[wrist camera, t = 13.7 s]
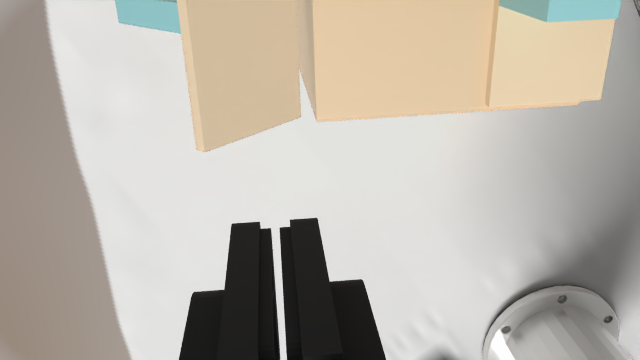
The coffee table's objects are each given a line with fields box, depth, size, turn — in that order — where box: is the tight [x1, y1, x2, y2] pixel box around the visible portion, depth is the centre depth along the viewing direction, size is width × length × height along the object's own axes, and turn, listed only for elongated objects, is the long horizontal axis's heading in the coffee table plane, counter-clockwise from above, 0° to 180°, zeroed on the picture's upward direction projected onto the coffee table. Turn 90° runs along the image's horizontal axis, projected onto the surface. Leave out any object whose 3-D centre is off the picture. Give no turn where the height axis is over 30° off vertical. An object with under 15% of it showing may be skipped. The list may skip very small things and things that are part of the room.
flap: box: [115, 0, 301, 152], centre depth 26 cm, size 11×6×5 cm
